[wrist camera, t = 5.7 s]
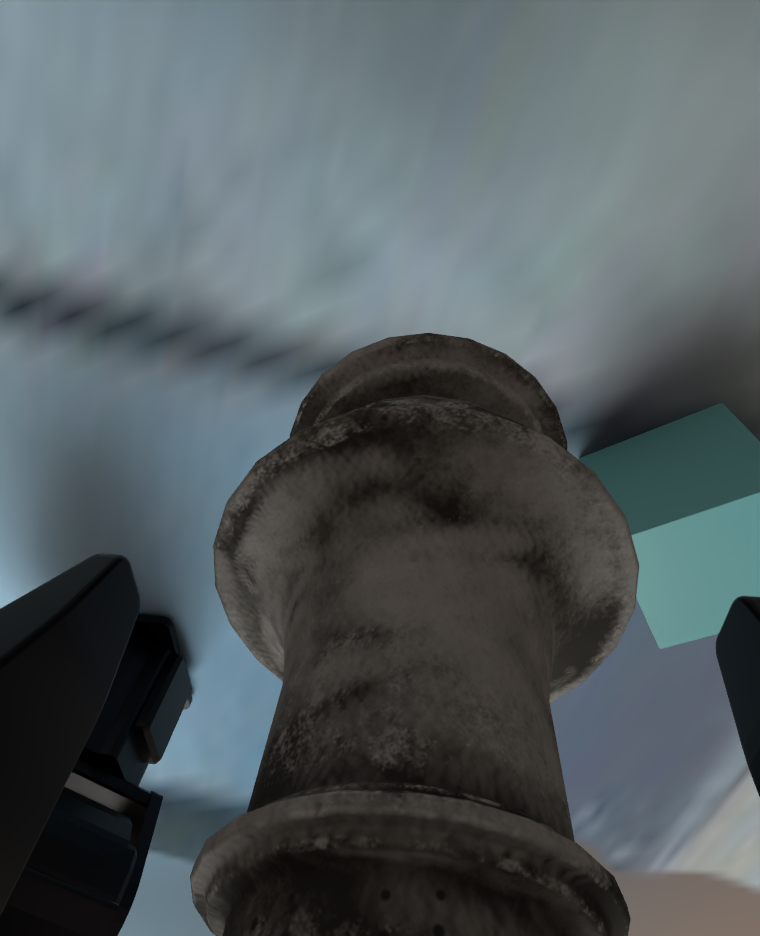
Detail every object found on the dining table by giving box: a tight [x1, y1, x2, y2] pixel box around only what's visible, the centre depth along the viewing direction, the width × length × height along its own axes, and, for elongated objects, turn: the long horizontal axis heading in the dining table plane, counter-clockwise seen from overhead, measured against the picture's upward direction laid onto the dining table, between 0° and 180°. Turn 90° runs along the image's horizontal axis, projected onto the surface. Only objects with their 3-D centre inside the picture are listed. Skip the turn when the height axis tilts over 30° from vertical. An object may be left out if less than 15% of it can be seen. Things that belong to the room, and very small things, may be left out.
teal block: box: [579, 403, 760, 649], centre depth 19 cm, size 5×5×5 cm
